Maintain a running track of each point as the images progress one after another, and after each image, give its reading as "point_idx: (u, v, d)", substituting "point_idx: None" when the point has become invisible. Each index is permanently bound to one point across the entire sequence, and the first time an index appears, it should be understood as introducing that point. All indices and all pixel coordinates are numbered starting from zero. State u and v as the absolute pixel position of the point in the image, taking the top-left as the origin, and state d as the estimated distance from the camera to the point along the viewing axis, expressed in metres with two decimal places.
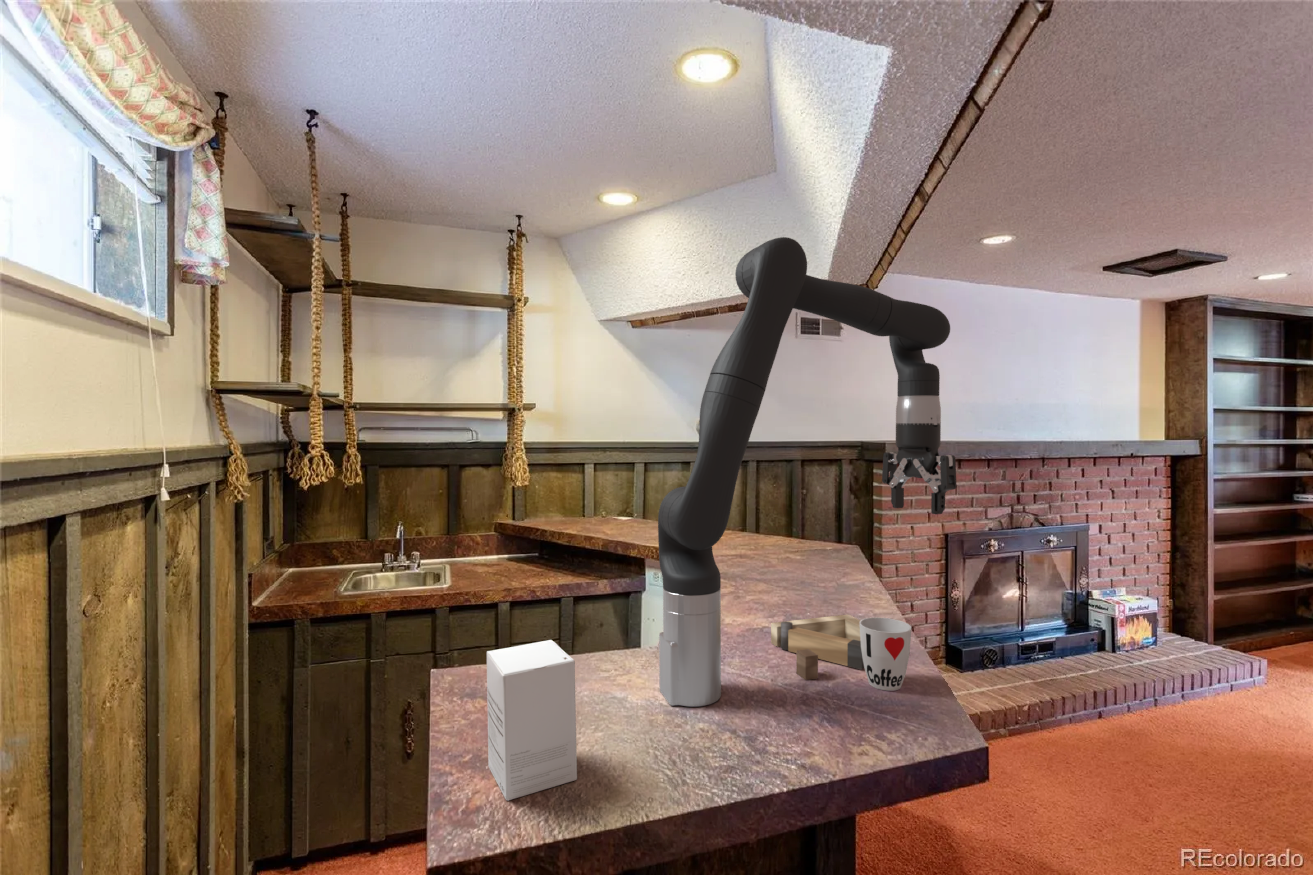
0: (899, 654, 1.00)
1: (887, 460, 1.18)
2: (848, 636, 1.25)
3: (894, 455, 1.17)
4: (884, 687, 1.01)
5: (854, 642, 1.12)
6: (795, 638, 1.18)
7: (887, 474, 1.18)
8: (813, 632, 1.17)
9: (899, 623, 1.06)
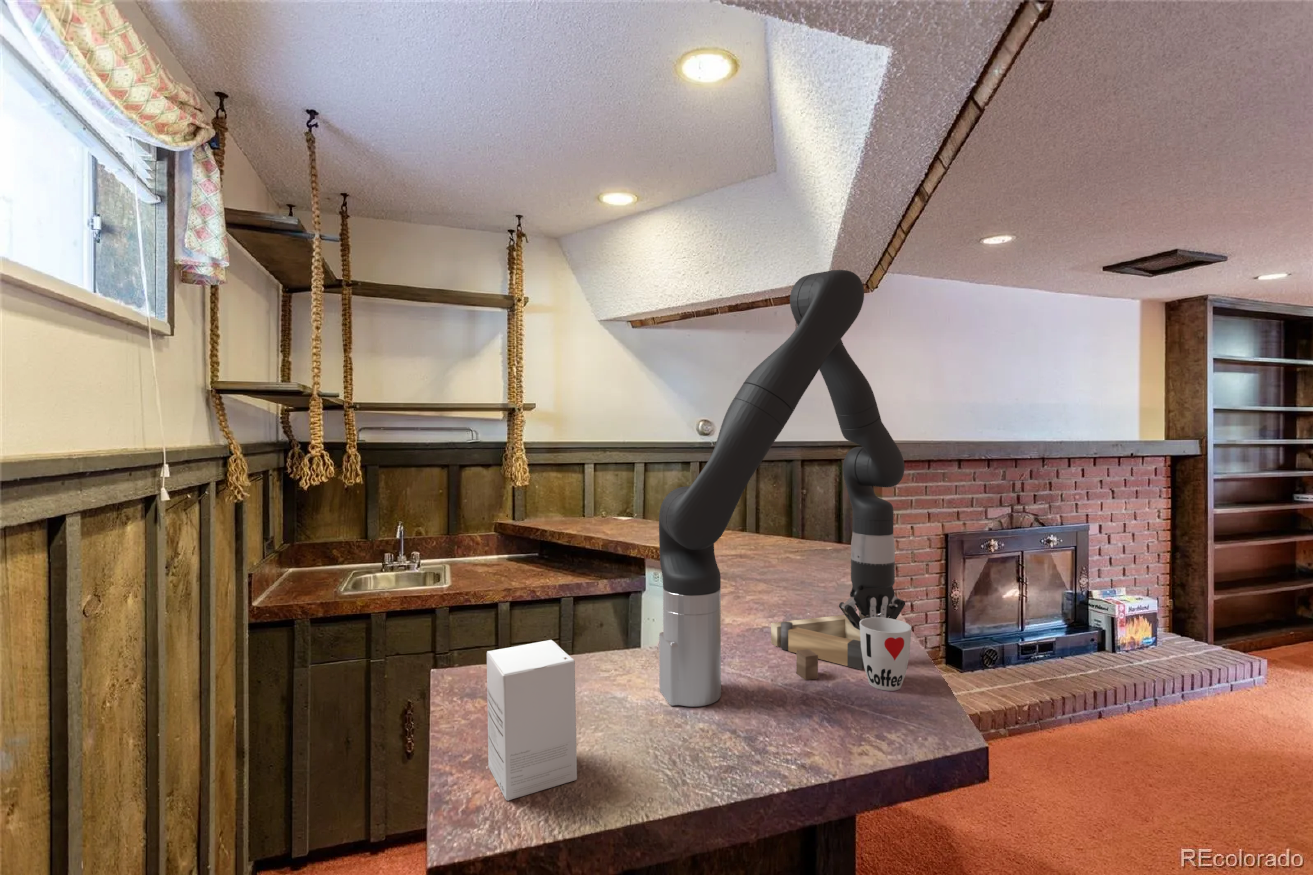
0: (899, 654, 1.00)
1: (854, 611, 1.10)
2: (848, 636, 1.25)
3: (851, 602, 1.11)
4: (884, 687, 1.01)
5: (854, 642, 1.12)
6: (795, 638, 1.18)
7: None
8: (813, 632, 1.17)
9: (899, 623, 1.06)
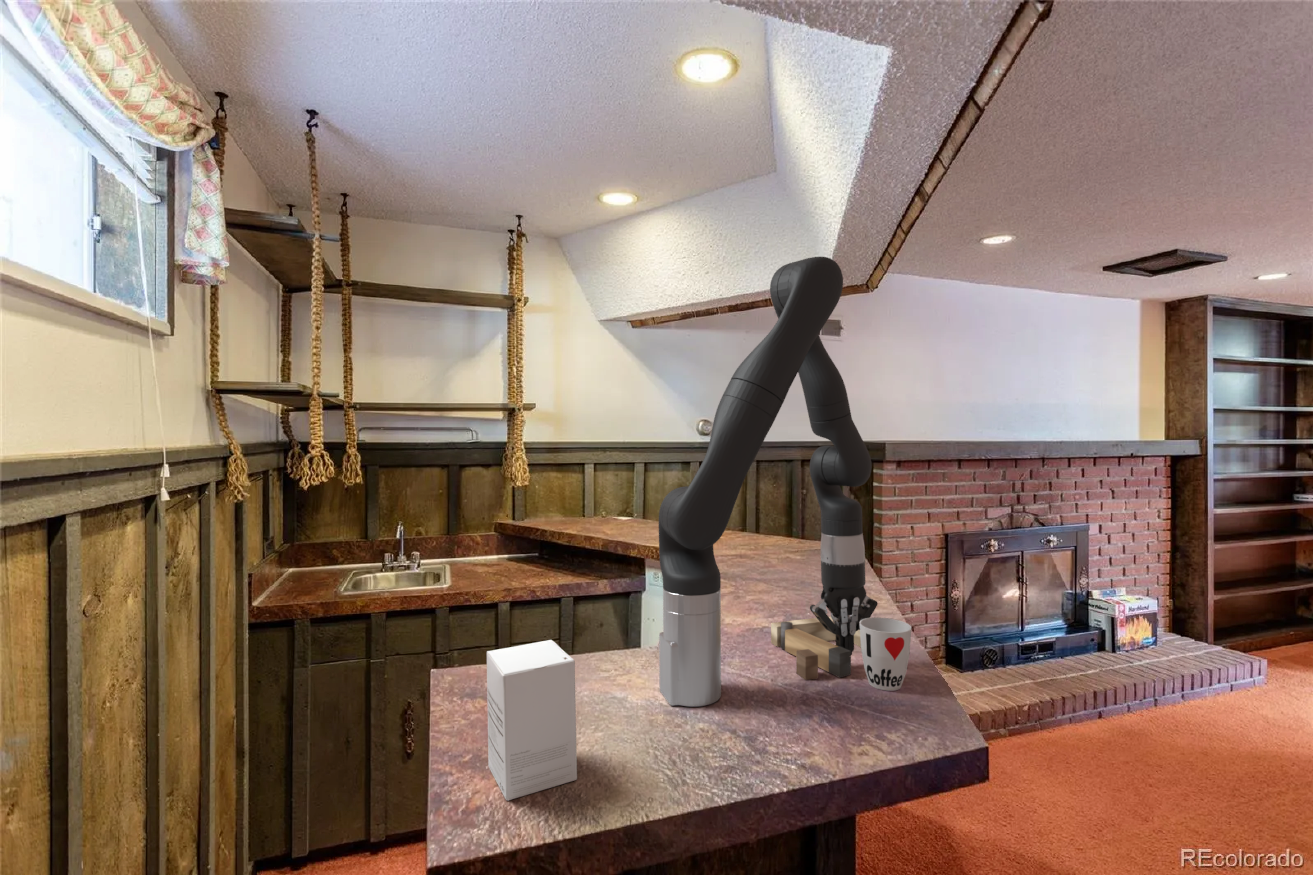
0: (899, 654, 1.00)
1: (824, 613, 1.08)
2: None
3: (822, 604, 1.09)
4: (884, 687, 1.01)
5: (837, 649, 1.08)
6: (790, 638, 1.17)
7: (833, 623, 1.09)
8: (807, 635, 1.16)
9: (899, 623, 1.06)
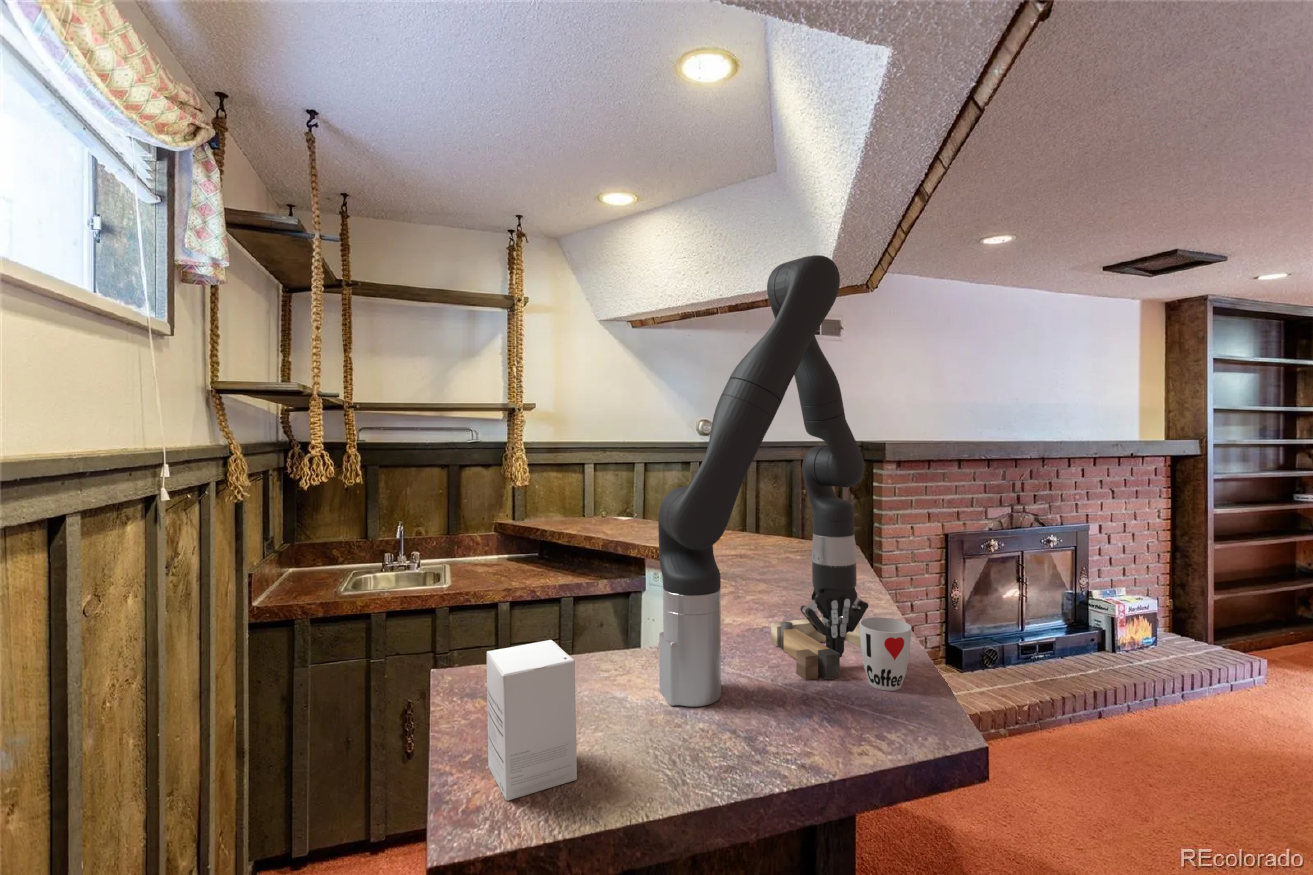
0: (899, 654, 1.00)
1: (815, 614, 1.08)
2: (848, 636, 1.25)
3: (813, 605, 1.09)
4: (884, 687, 1.01)
5: (826, 651, 1.07)
6: (787, 638, 1.17)
7: (823, 624, 1.09)
8: (804, 635, 1.15)
9: (899, 623, 1.06)
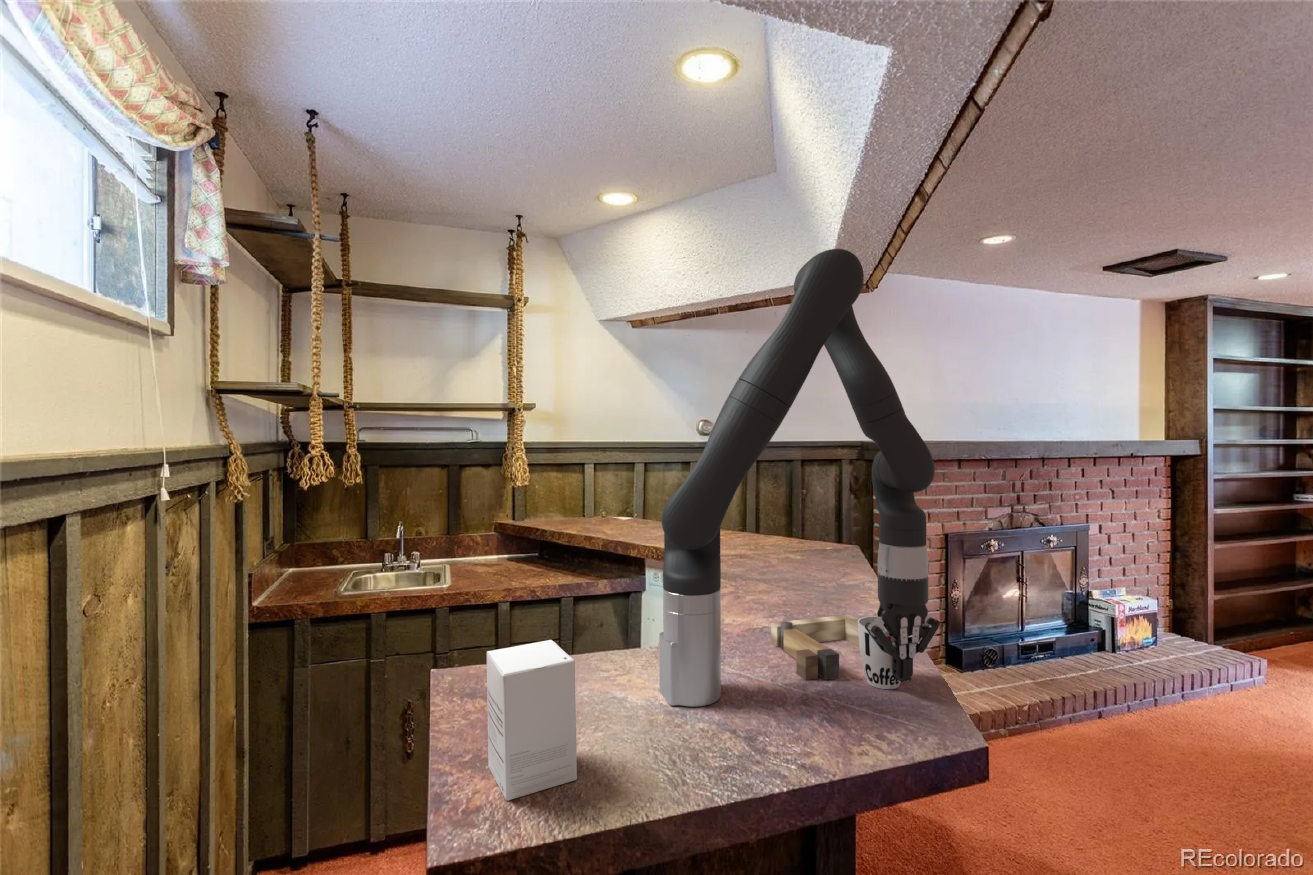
0: None
1: (882, 632, 0.97)
2: (848, 636, 1.25)
3: (879, 622, 0.98)
4: (883, 686, 1.02)
5: (825, 651, 1.07)
6: (787, 638, 1.17)
7: (891, 644, 0.98)
8: (803, 635, 1.15)
9: None
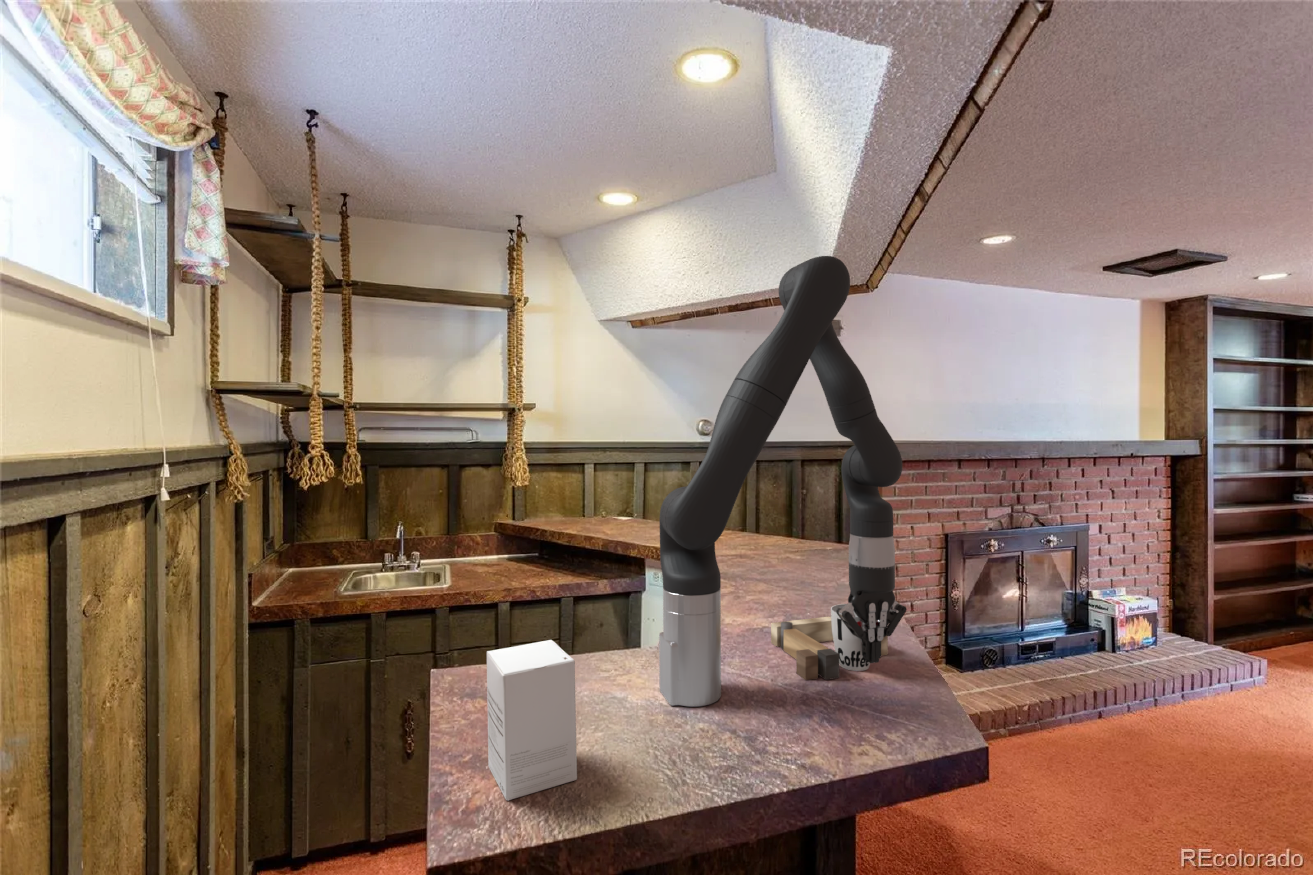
0: None
1: (852, 617, 1.05)
2: None
3: (849, 608, 1.05)
4: (854, 668, 1.09)
5: (825, 651, 1.07)
6: (787, 638, 1.17)
7: (860, 628, 1.05)
8: (803, 635, 1.15)
9: None
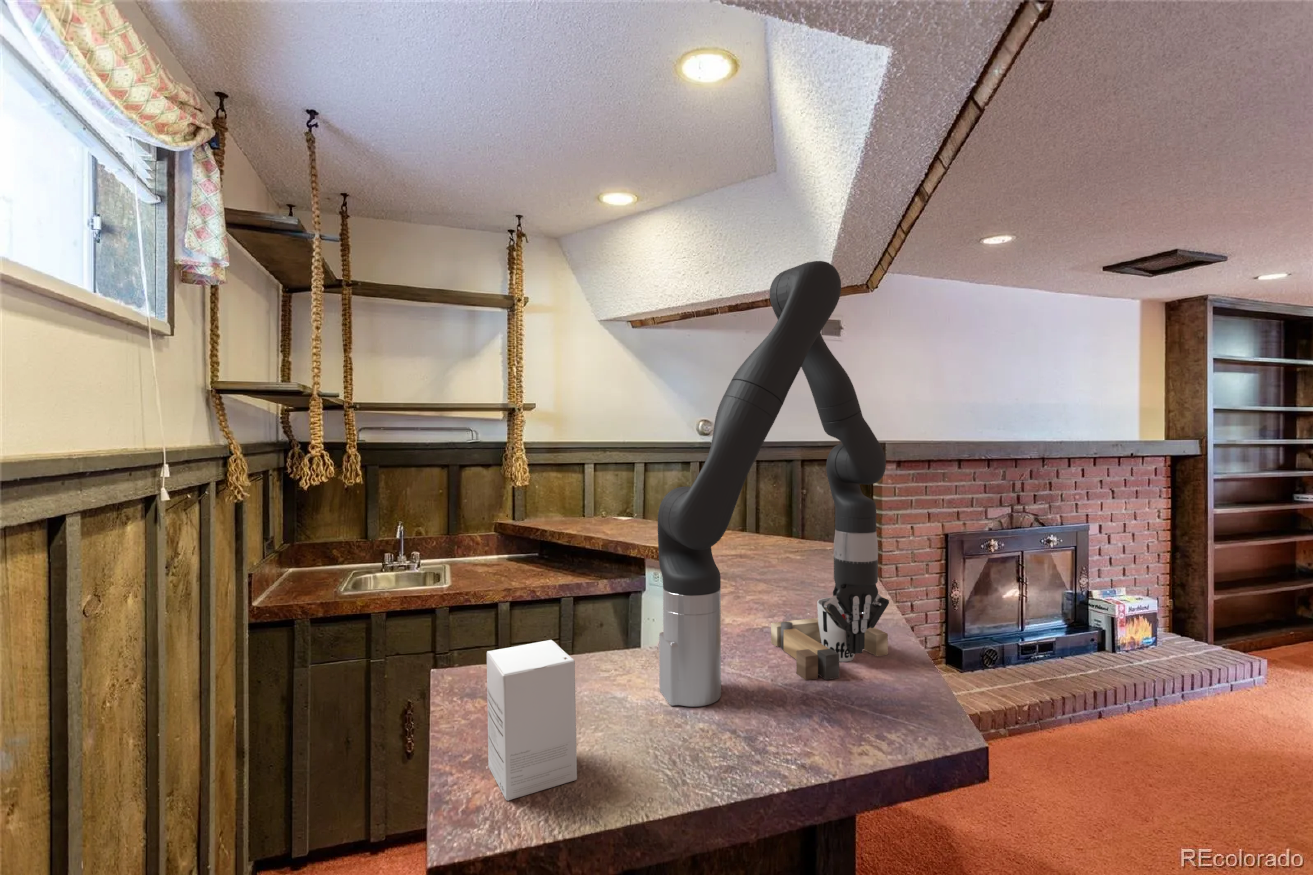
0: None
1: (836, 609, 1.09)
2: None
3: (834, 600, 1.10)
4: None
5: (825, 651, 1.07)
6: (787, 638, 1.17)
7: (845, 620, 1.10)
8: (803, 635, 1.15)
9: None
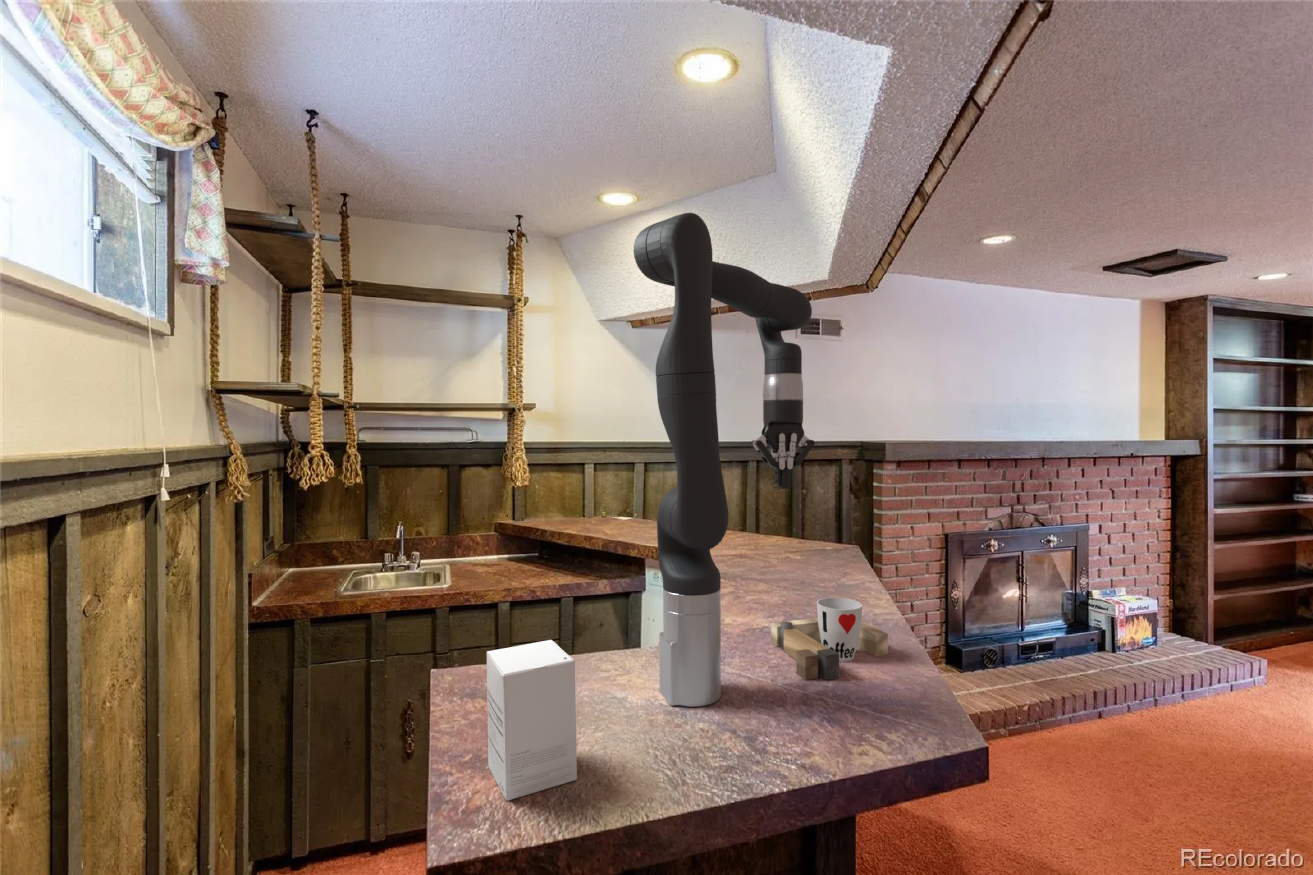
0: (851, 628, 1.13)
1: (764, 445, 1.17)
2: None
3: (762, 438, 1.18)
4: None
5: (825, 651, 1.07)
6: (787, 638, 1.17)
7: (772, 456, 1.18)
8: (803, 635, 1.15)
9: (852, 602, 1.18)
